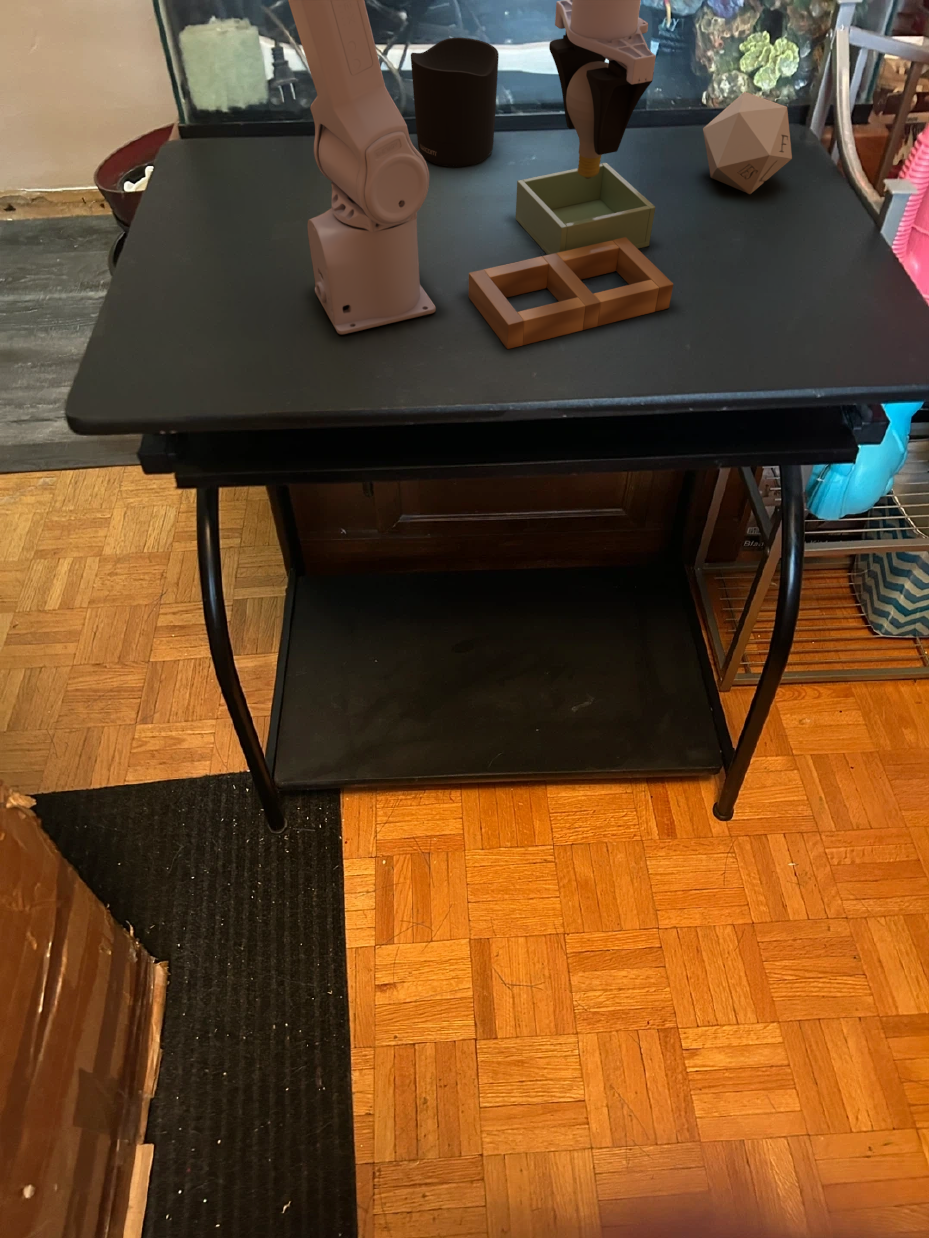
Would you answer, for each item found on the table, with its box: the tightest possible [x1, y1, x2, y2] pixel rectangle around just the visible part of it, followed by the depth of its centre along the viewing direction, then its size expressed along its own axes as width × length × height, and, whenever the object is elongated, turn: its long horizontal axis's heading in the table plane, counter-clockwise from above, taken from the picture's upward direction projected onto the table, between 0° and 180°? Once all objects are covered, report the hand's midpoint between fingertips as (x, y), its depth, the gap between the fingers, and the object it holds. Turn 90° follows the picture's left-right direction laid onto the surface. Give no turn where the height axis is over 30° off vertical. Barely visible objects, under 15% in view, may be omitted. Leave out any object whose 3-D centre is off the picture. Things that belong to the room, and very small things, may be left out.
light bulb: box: [566, 61, 609, 179], centre depth 82 cm, size 6×6×10 cm
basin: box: [515, 162, 656, 255], centre depth 89 cm, size 10×10×4 cm
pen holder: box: [410, 37, 500, 168], centre depth 98 cm, size 9×9×10 cm
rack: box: [468, 237, 674, 350], centre depth 82 cm, size 16×9×2 cm, turn 112°
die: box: [702, 91, 793, 195], centre depth 94 cm, size 8×9×10 cm
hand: (591, 139), depth 83 cm, fingers closed on light bulb, 5 cm apart
